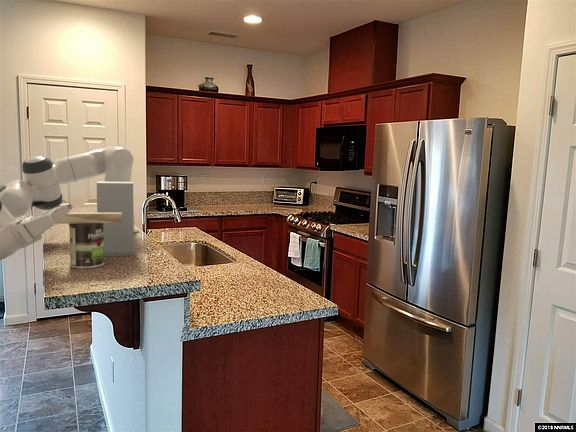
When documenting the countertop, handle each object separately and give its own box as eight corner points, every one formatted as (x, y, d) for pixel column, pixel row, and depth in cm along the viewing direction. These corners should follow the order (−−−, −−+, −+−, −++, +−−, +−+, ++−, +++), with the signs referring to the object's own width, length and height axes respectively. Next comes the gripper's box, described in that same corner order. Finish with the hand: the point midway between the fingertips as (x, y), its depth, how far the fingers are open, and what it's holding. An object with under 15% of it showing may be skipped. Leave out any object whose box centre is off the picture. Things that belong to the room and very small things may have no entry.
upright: (98, 251, 166) (96, 181, 162) (134, 249, 170) (134, 181, 167) (96, 256, 158) (94, 183, 154) (135, 255, 162) (134, 183, 158)
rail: (48, 222, 142) (47, 212, 142) (121, 221, 149) (121, 212, 149) (46, 223, 139) (45, 214, 138) (121, 222, 146) (121, 213, 146)
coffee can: (111, 263, 149) (110, 221, 147) (87, 270, 140) (86, 225, 138) (87, 259, 153) (86, 219, 151) (62, 266, 143) (61, 223, 141)
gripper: (40, 232, 149) (78, 211, 153) (27, 244, 130) (71, 220, 134) (28, 216, 148) (68, 195, 151) (14, 226, 129) (59, 202, 132)
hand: (69, 207), depth 142 cm, fingers open, 8 cm apart
